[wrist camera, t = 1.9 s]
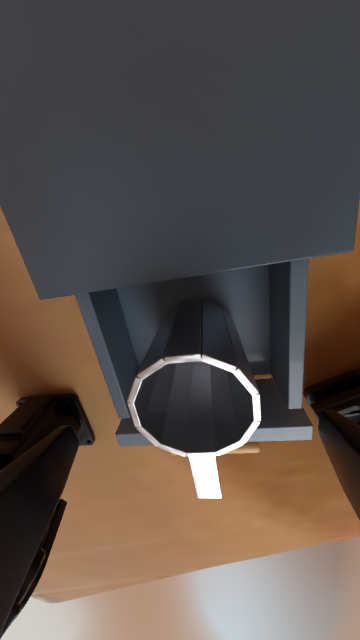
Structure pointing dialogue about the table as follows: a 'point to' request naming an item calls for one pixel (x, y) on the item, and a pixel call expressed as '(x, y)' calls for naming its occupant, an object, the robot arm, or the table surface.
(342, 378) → the end cap
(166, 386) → the measuring cup
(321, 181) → the cabinet
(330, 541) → the table surface
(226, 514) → the table surface
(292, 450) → the table surface
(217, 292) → the drawer
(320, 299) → the table surface
